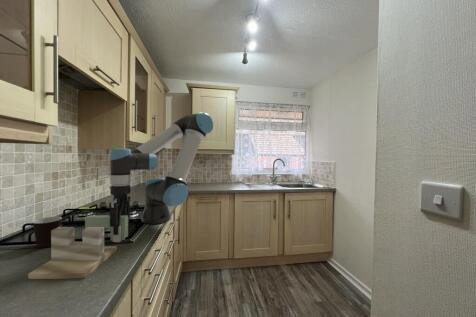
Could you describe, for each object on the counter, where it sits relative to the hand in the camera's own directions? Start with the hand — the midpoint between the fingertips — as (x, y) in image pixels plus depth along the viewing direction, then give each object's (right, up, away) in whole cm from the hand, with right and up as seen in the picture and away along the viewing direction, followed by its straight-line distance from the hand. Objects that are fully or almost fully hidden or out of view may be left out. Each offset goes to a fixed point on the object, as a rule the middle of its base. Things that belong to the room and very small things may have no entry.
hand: (120, 238), depth 90 cm
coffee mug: (-25, 0, -5) cm, 26 cm away
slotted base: (-3, -1, -19) cm, 20 cm away
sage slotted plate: (-6, 0, 0) cm, 6 cm away
